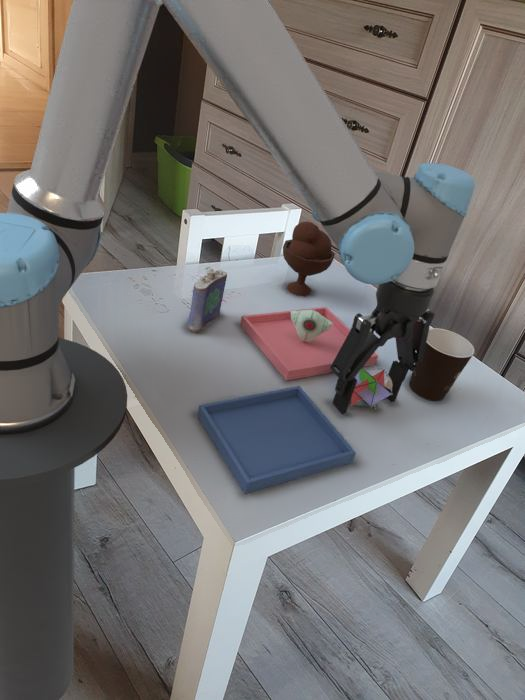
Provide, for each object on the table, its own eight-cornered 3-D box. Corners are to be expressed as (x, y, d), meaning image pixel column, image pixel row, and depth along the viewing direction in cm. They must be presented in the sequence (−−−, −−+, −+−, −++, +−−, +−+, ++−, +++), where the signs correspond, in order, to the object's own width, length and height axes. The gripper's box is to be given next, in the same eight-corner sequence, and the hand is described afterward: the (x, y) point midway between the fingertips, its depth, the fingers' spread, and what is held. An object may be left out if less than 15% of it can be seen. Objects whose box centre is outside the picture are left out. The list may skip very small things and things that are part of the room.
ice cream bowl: (288, 304, 112) (305, 236, 104) (266, 278, 120) (280, 213, 112) (332, 302, 116) (351, 236, 108) (307, 276, 124) (324, 214, 116)
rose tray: (286, 380, 90) (288, 371, 89) (240, 324, 101) (241, 315, 100) (375, 364, 99) (378, 355, 98) (323, 315, 111) (326, 306, 110)
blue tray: (244, 493, 68) (247, 483, 67) (197, 415, 79) (199, 404, 78) (352, 462, 77) (356, 452, 76) (296, 395, 87) (299, 385, 86)
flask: (196, 334, 96) (204, 280, 90) (182, 328, 97) (189, 274, 91) (222, 315, 103) (231, 263, 97) (209, 309, 104) (217, 258, 98)
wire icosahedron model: (355, 413, 83) (391, 374, 82) (327, 386, 87) (361, 348, 86) (373, 425, 88) (407, 388, 87) (346, 399, 92) (379, 364, 91)
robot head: (327, 342, 101) (336, 311, 98) (324, 354, 98) (334, 322, 94) (285, 330, 102) (293, 299, 98) (281, 341, 98) (289, 309, 95)
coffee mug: (429, 410, 91) (452, 362, 85) (393, 380, 96) (412, 332, 91) (471, 394, 97) (495, 348, 92) (434, 367, 103) (455, 322, 97)
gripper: (364, 300, 69) (321, 431, 81) (482, 286, 79) (428, 404, 91) (330, 272, 74) (295, 400, 86) (445, 263, 84) (399, 377, 97)
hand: (364, 402), depth 89 cm, fingers open, 9 cm apart
